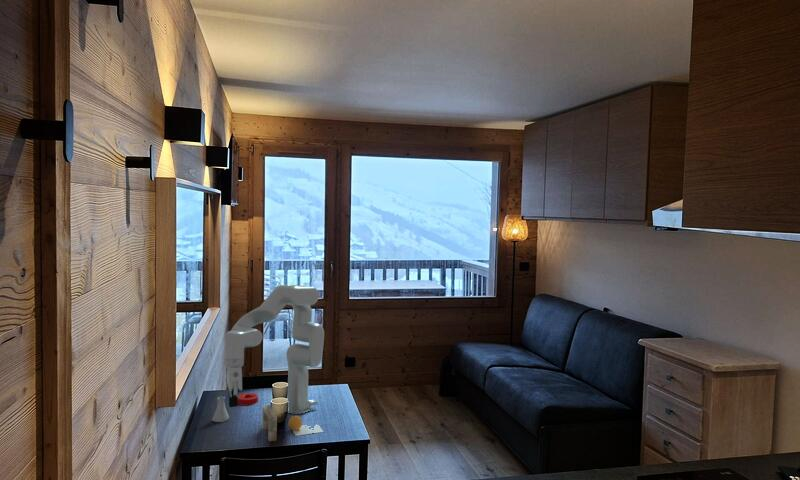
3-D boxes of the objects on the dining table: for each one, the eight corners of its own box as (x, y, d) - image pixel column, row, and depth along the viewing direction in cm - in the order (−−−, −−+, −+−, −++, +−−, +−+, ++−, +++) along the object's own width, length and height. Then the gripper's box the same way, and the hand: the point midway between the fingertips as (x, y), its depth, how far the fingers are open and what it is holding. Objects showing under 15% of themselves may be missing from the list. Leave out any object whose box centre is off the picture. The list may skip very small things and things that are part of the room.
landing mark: (315, 422, 234) (315, 421, 234) (323, 432, 223) (323, 431, 223) (289, 425, 229) (289, 425, 229) (296, 436, 218) (296, 435, 218)
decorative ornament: (259, 404, 256) (259, 397, 256) (239, 406, 252) (239, 400, 252) (255, 398, 265) (255, 391, 265) (236, 400, 260) (236, 394, 260)
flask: (223, 423, 230) (224, 401, 229) (208, 421, 231) (209, 399, 231) (232, 417, 237) (232, 396, 236) (217, 416, 238) (218, 394, 238)
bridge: (269, 427, 227) (269, 405, 226) (276, 440, 213) (276, 417, 213) (262, 428, 225) (262, 406, 225) (269, 441, 212) (269, 418, 212)
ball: (287, 414, 226) (286, 428, 226) (290, 418, 221) (289, 432, 221) (300, 413, 229) (299, 426, 229) (304, 417, 223) (303, 431, 223)
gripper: (246, 365, 206) (245, 411, 206) (241, 356, 220) (240, 399, 220) (226, 367, 203) (225, 413, 203) (222, 357, 216) (221, 401, 217)
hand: (233, 406), depth 212 cm, fingers closed
